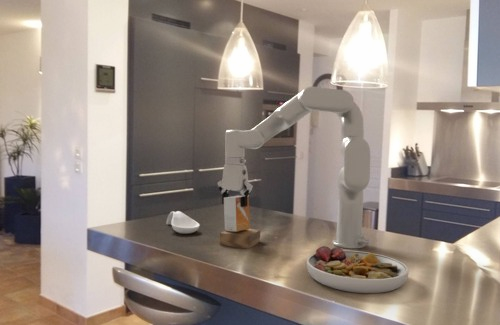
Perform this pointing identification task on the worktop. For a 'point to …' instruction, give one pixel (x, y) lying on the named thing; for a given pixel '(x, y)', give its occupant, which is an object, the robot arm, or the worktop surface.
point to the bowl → (356, 270)
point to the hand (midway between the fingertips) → (234, 205)
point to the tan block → (240, 238)
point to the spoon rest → (182, 223)
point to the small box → (236, 214)
